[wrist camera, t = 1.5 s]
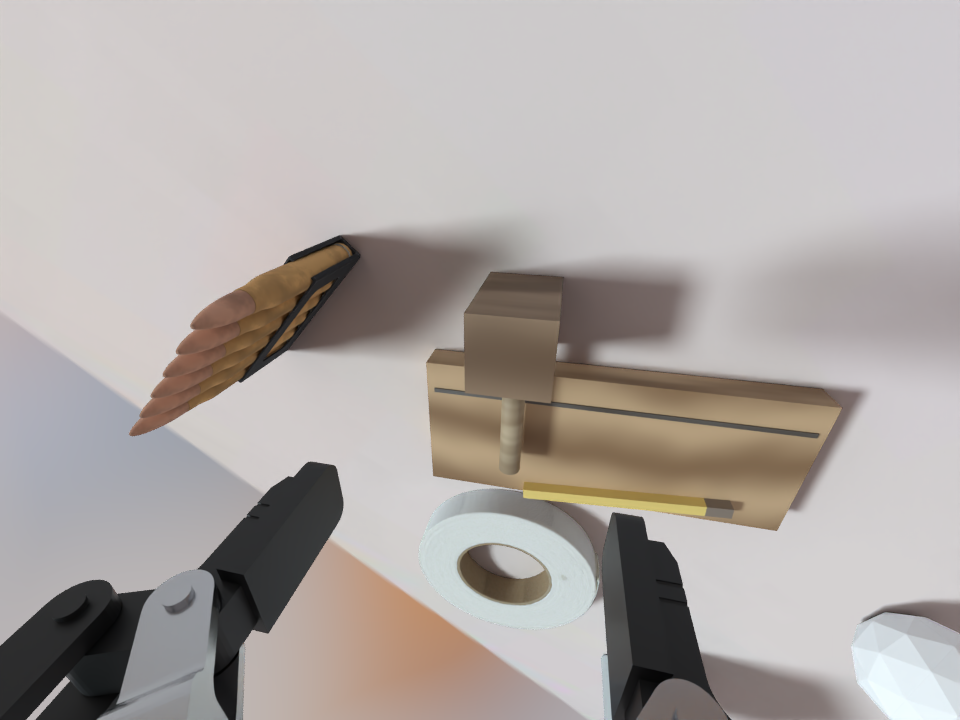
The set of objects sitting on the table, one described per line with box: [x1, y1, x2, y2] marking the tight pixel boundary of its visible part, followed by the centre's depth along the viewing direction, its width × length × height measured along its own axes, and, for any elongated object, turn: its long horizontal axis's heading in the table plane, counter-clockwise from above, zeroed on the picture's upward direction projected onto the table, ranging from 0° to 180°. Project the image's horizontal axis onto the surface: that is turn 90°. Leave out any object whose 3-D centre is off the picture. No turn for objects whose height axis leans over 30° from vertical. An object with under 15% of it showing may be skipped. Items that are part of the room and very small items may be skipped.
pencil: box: [523, 482, 734, 519], centre depth 28 cm, size 1×14×1 cm, turn 94°
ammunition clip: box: [129, 235, 360, 436], centre depth 23 cm, size 11×2×12 cm, turn 136°
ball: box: [851, 612, 960, 720], centre depth 28 cm, size 8×8×8 cm
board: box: [426, 349, 842, 531], centre depth 27 cm, size 10×24×2 cm, turn 89°
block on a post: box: [464, 272, 563, 475], centre depth 24 cm, size 12×4×7 cm, turn 179°
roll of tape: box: [419, 489, 600, 629], centre depth 35 cm, size 16×15×3 cm
